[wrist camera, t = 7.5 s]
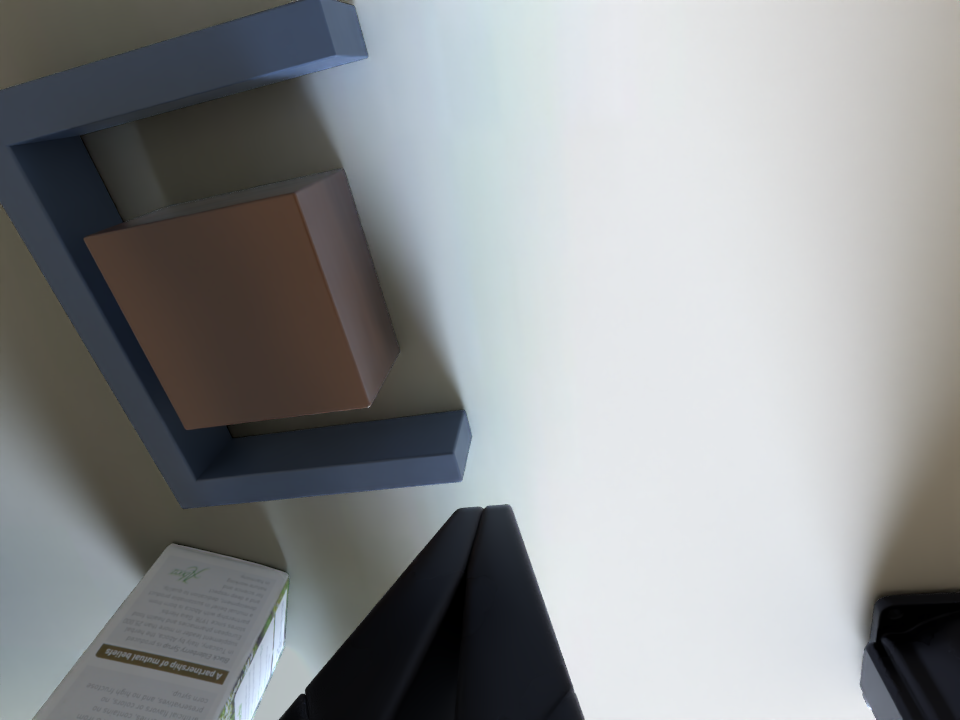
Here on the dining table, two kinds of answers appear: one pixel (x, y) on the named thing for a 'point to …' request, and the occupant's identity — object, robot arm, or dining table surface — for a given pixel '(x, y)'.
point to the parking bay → (89, 209)
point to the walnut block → (254, 301)
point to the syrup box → (182, 644)
